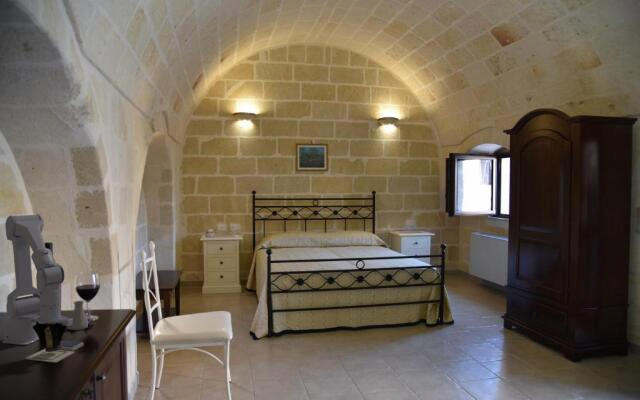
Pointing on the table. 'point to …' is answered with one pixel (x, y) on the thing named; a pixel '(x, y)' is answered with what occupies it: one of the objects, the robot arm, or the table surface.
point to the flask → (78, 317)
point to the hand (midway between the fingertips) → (50, 345)
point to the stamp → (50, 341)
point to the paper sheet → (50, 355)
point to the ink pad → (70, 345)
